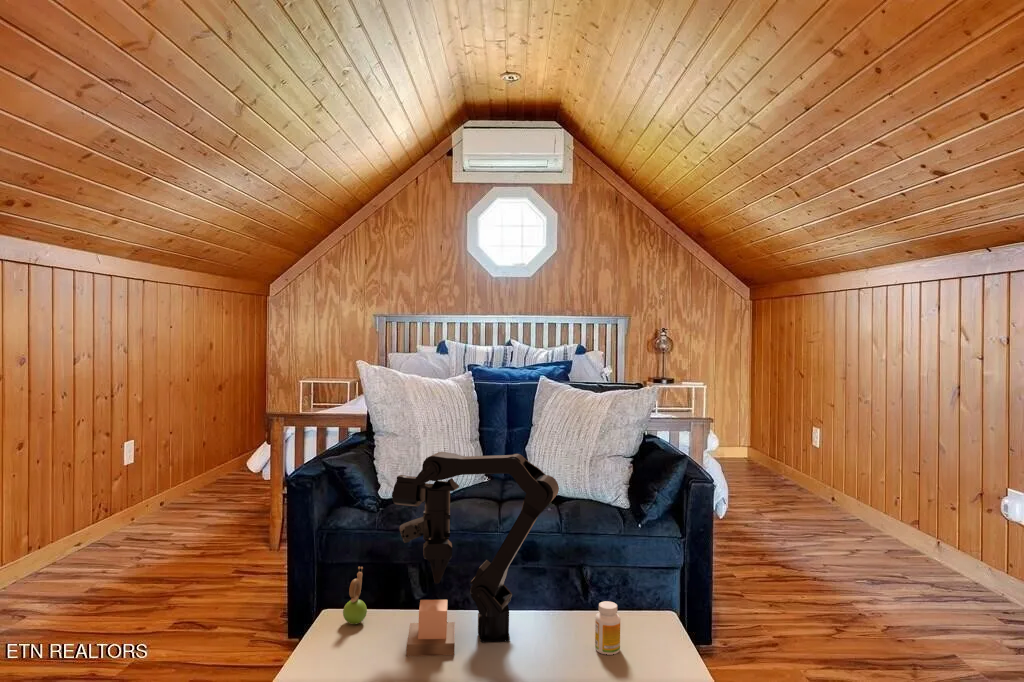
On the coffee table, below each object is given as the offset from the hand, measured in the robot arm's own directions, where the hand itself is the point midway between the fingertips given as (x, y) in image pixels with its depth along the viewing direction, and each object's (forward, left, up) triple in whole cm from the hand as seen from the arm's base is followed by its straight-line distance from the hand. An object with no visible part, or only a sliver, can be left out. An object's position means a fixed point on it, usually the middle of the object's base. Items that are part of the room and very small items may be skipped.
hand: (436, 575), depth 149 cm
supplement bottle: (-37, +13, -12) cm, 41 cm away
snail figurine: (+19, -4, -12) cm, 23 cm away
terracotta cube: (0, +8, -10) cm, 13 cm away
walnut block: (+1, +8, -13) cm, 15 cm away
